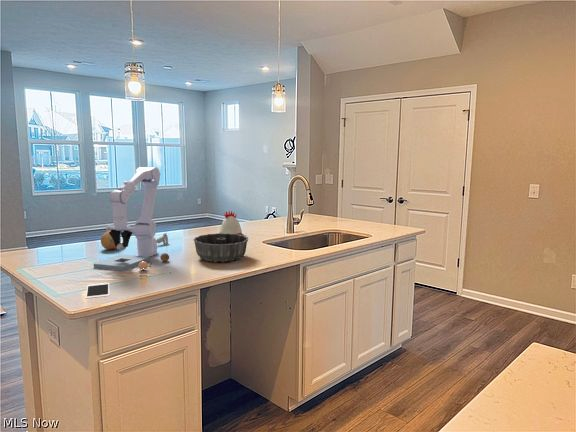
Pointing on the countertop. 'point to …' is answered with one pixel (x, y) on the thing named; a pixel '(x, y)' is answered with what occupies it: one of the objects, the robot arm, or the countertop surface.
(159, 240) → the caliper
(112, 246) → the onion
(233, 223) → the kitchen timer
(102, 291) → the cell phone
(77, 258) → the countertop surface
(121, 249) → the steel ball
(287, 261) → the countertop surface
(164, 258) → the walnut ball
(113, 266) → the hole plate
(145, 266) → the terracotta ball
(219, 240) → the bundt pan
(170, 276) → the countertop surface
